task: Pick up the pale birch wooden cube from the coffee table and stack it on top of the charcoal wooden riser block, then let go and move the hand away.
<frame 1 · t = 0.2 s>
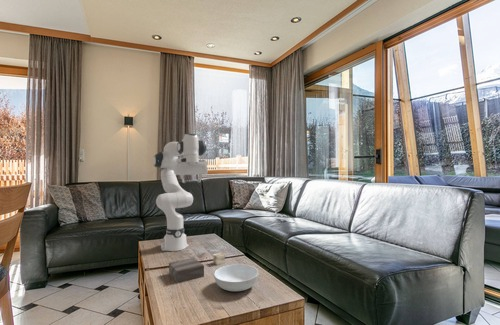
hand: (191, 182, 162), 47 cm above the table, fingers open, 8 cm apart
serving bowl: (236, 287, 126), on the table
charcoal riser block: (186, 275, 140), on the table
birch cube: (219, 263, 157), on the table
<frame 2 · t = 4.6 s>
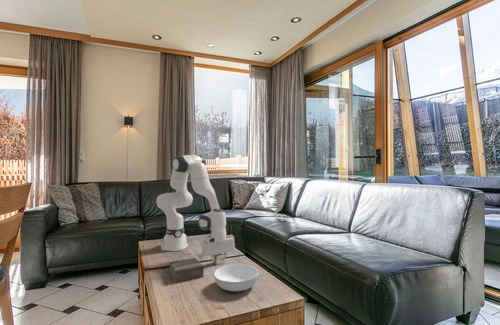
hand: (218, 260, 157), 2 cm above the table, fingers closed on birch cube, 5 cm apart
birch cube: (219, 263, 157), on the table, touching gripper
everything else where it was.
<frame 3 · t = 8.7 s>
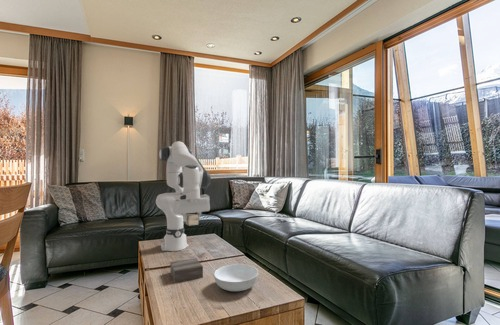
hand: (192, 221, 143), 28 cm above the table, fingers closed on birch cube, 5 cm apart
birch cube: (192, 224, 143), point 26 cm above the table, touching gripper
everything else where it was.
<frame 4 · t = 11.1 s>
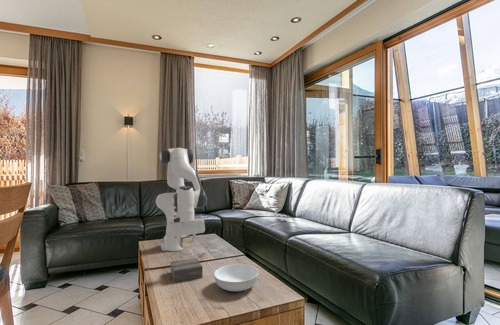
hand: (186, 243, 140), 16 cm above the table, fingers closed on birch cube, 5 cm apart
birch cube: (186, 246, 140), point 15 cm above the table, touching gripper
everything else where it was.
when the fingers open (9 cm above the table, at t = 13.0 s): birch cube drops 2 cm, resting on charcoal riser block.
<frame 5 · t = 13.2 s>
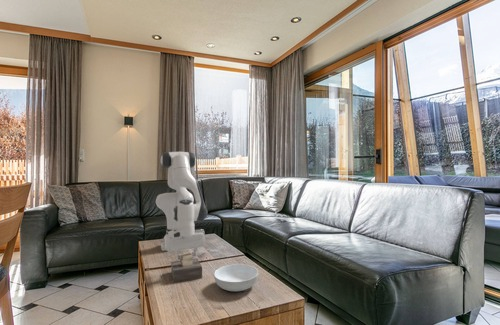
hand: (186, 257, 140), 9 cm above the table, fingers open, 7 cm apart
charcoal riser block: (186, 275, 140), on the table, touching birch cube
birch cube: (186, 264, 140), point 6 cm above the table, touching charcoal riser block
everything else where it was.
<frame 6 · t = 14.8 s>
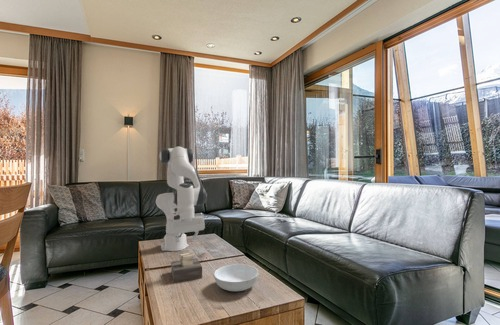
hand: (186, 240, 140), 18 cm above the table, fingers open, 8 cm apart
nothing on the table moved.
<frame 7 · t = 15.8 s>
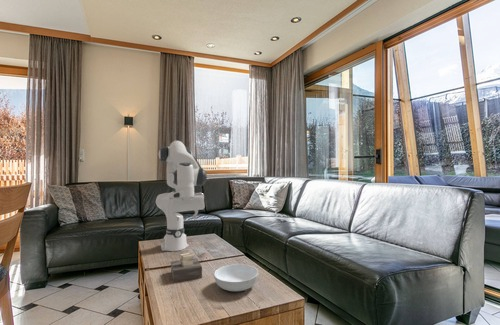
hand: (185, 219, 141), 29 cm above the table, fingers open, 8 cm apart
charcoal riser block: (186, 275, 140), on the table
birch cube: (186, 264, 140), point 6 cm above the table
everything else where it was.
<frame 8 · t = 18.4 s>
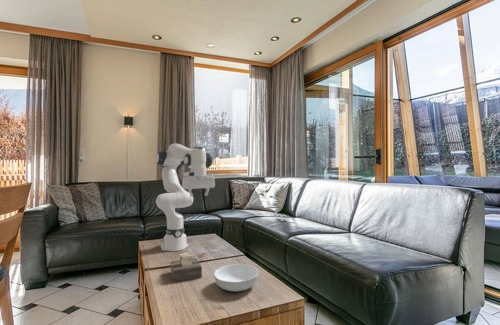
hand: (199, 196, 162), 39 cm above the table, fingers open, 8 cm apart
charcoal riser block: (185, 275, 140), on the table, touching birch cube
birch cube: (185, 264, 140), point 6 cm above the table, touching charcoal riser block
everything else where it was.
at the end: birch cube inside the target area on the charcoal riser block (0.2 cm from its centre), point 6.0 cm above the charcoal riser block's base; birch cube tilted 0°; birch cube touching charcoal riser block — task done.
